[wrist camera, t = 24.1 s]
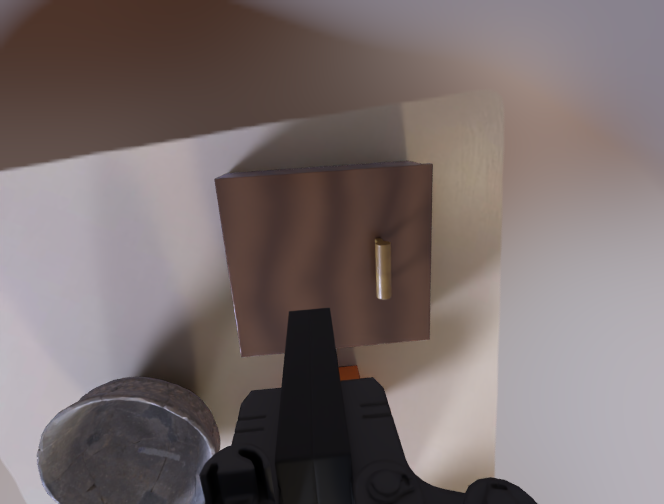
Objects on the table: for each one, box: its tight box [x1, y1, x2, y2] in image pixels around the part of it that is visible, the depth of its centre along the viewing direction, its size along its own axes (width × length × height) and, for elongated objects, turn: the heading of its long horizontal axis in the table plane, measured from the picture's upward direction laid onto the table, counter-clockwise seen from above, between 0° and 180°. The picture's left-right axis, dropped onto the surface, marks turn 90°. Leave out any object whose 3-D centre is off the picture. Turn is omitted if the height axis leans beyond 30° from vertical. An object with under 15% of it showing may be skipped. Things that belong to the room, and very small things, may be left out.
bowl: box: [37, 377, 220, 504], centre depth 48 cm, size 21×21×10 cm
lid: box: [215, 163, 433, 357], centre depth 40 cm, size 23×21×4 cm
